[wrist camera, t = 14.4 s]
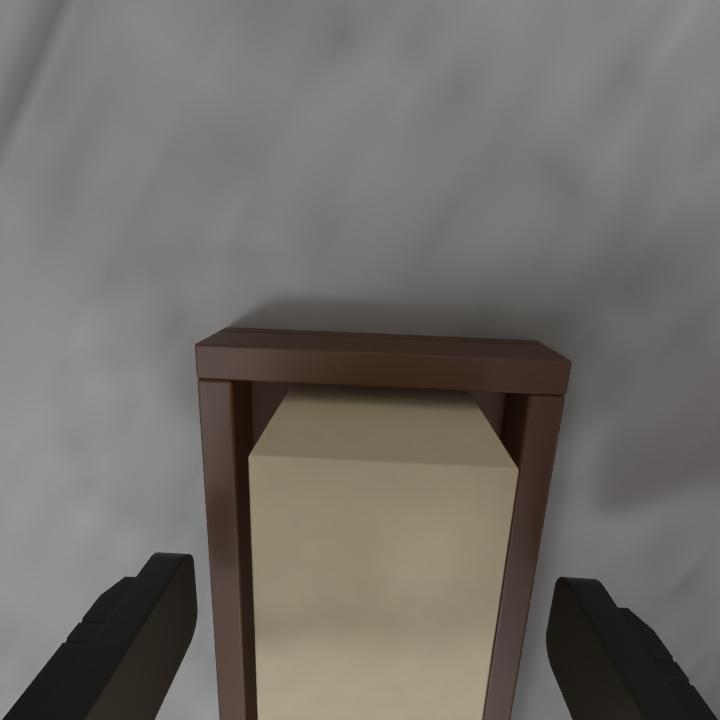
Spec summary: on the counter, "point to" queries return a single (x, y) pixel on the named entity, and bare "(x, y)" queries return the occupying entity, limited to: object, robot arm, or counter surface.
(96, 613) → the robot arm
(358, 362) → the frame
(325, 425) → the pad
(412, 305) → the counter surface
